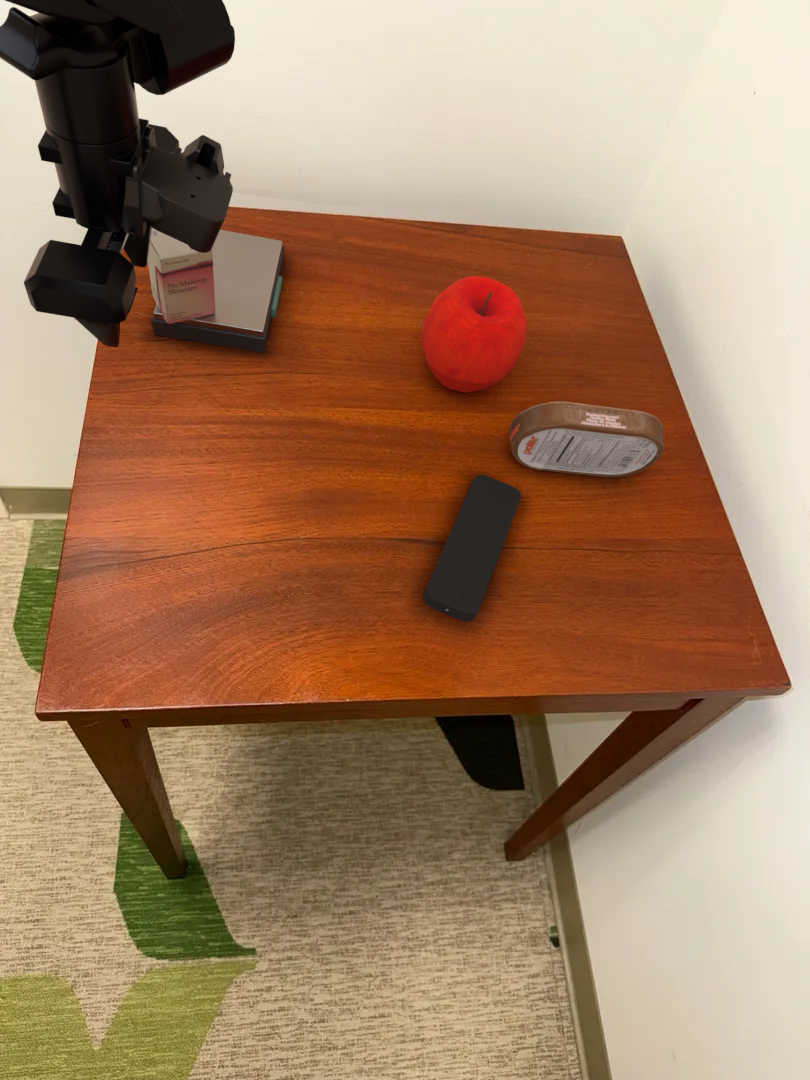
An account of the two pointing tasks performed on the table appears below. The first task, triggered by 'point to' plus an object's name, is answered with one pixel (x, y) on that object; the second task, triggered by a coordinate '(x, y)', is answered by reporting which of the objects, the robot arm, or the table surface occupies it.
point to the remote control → (472, 548)
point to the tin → (586, 439)
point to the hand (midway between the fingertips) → (126, 303)
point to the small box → (180, 279)
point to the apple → (473, 333)
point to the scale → (236, 295)
